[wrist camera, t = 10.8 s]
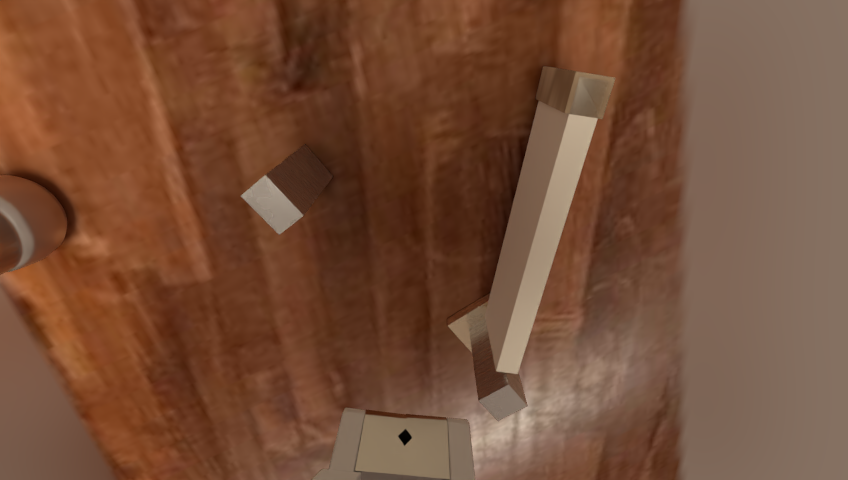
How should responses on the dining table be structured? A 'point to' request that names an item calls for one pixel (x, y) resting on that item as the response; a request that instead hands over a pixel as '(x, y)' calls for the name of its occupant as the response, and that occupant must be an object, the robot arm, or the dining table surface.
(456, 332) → the hinge post
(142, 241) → the dining table surface
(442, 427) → the robot arm
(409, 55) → the dining table surface
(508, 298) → the gate
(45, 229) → the plastic bottle
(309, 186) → the post
